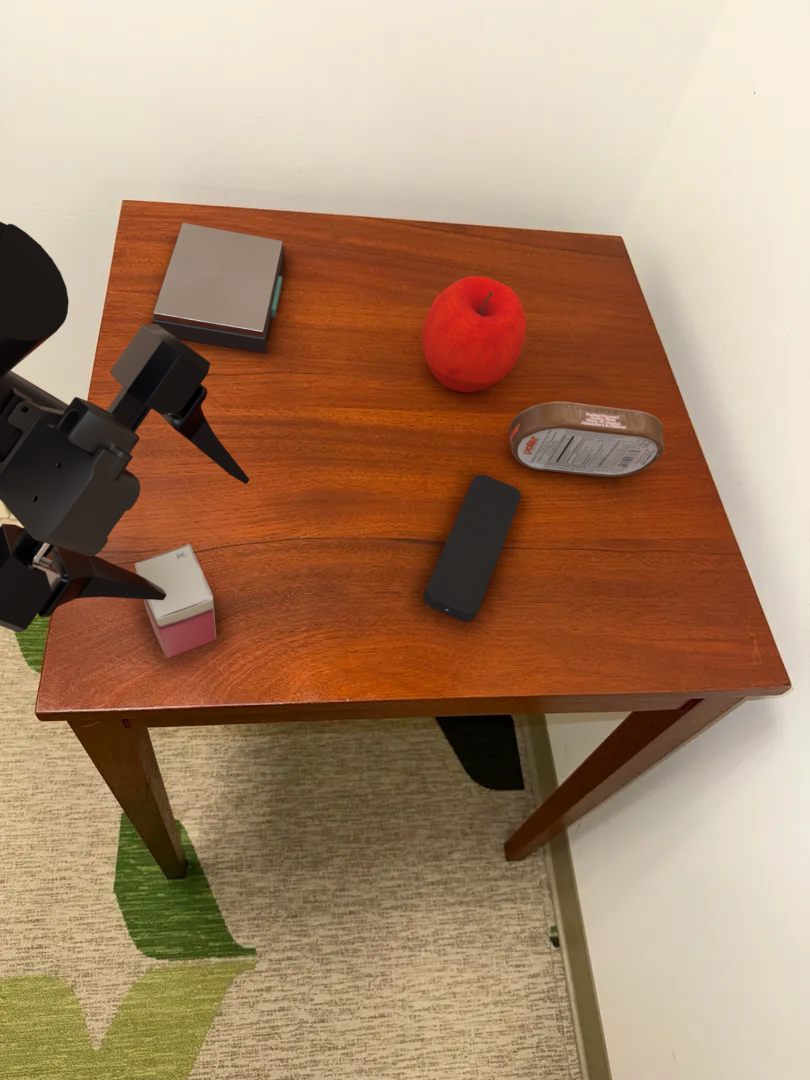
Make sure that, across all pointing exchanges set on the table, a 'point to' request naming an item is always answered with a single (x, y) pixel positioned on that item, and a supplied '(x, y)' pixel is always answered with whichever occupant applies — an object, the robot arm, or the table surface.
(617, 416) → the tin
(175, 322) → the scale
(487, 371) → the apple
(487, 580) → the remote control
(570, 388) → the table surface
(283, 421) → the table surface
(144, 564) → the small box
